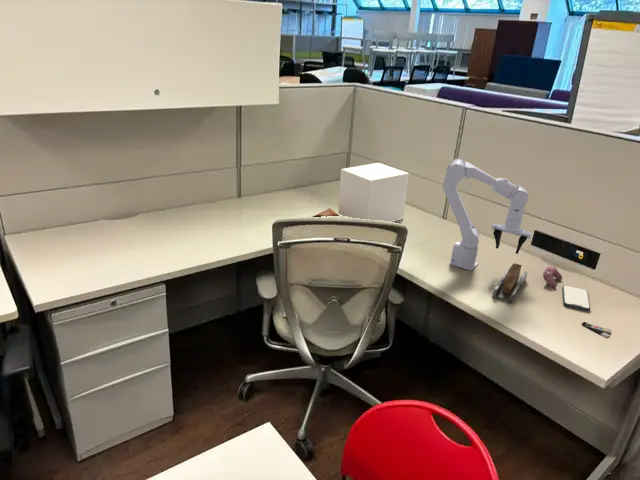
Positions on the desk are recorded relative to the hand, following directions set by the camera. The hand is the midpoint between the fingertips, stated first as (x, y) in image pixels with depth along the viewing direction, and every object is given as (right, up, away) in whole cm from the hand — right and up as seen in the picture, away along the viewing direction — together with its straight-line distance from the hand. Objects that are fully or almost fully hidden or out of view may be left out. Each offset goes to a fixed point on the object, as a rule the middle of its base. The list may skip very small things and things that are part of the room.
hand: (507, 250), depth 194 cm
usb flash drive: (+18, -26, -31) cm, 45 cm away
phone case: (+20, -18, -14) cm, 30 cm away
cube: (-49, +15, +52) cm, 73 cm away
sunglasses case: (-72, +13, +46) cm, 86 cm away
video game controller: (+16, -13, -2) cm, 21 cm away
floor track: (-3, -14, -9) cm, 17 cm away
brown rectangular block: (-3, -13, -10) cm, 17 cm away
